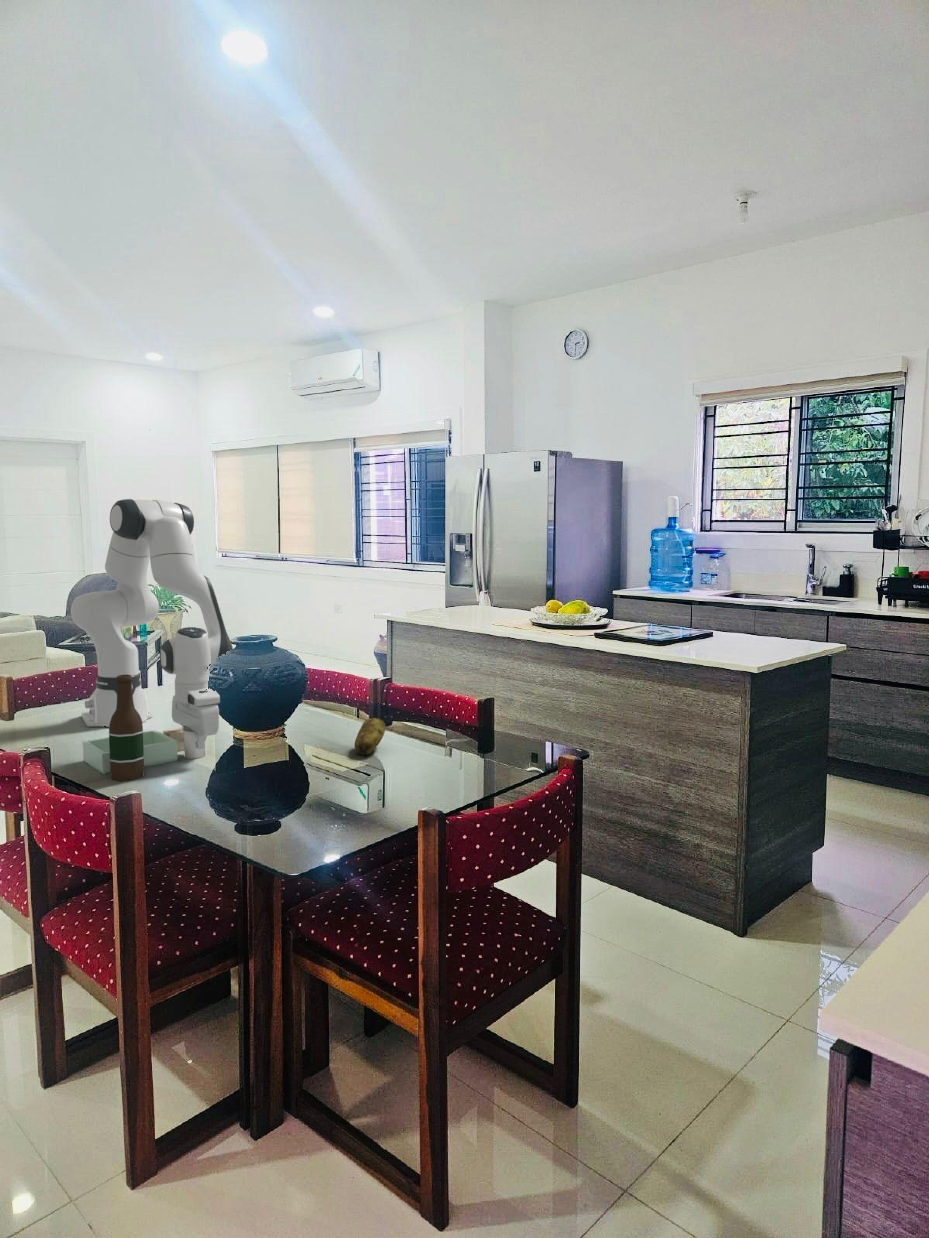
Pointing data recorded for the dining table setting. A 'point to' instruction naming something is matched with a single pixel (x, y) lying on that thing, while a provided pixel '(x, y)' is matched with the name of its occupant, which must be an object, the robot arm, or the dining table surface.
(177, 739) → the beech cube
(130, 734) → the beer bottle
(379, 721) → the potato
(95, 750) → the tote
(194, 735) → the white jar
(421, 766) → the dining table surface
